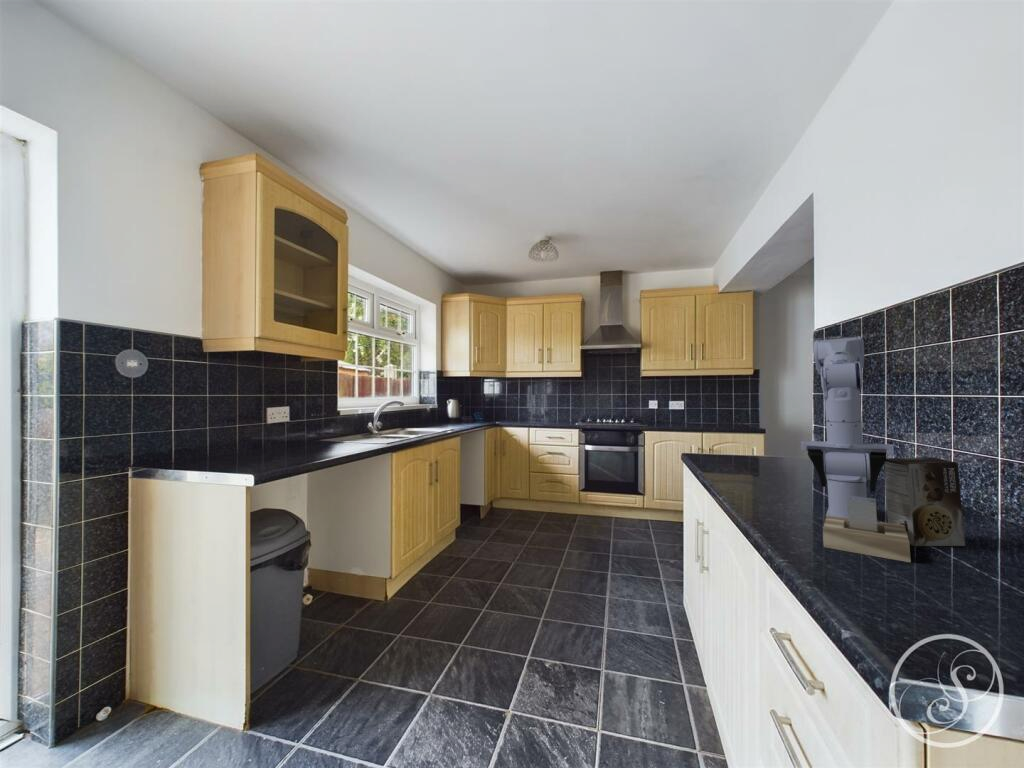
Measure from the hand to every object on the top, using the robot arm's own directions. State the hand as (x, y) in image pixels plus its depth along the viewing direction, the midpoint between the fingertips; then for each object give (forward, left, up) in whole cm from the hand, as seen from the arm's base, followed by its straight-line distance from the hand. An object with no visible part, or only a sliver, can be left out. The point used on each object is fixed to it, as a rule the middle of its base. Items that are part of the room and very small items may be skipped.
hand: (847, 488), depth 82 cm
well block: (+3, +2, -10) cm, 11 cm away
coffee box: (-7, +11, -11) cm, 17 cm away
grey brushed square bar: (+3, +2, -10) cm, 11 cm away
